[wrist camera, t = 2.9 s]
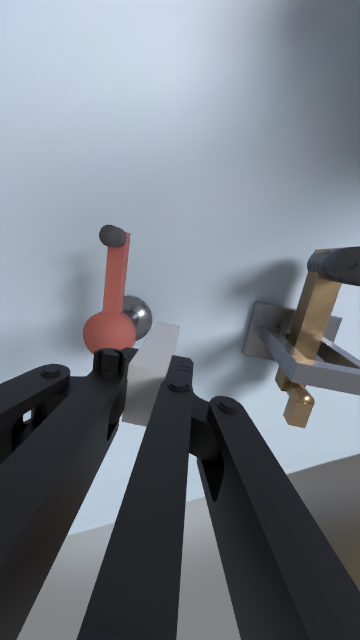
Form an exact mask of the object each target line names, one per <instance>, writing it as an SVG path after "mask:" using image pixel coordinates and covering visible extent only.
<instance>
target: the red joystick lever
mask: <svg viewBox="0 0 360 640" xmlns="http://www.w3.org/2000/svg"><path fill="white" fill-rule="evenodd" d="M99 237H100V240H101V242H102V243H103V244H104V245H106V246H108V253H107V265H106V277H105V289H104V301H103V311H101V312H99V313H97V314H95V315H93V316H92V317H91V318H89V320H88V321H87V322H86V324H85V326H84V330H83V338H84V342H85V344H86V346H87V348H88V349H89V350H90V352H91V353H92V354H94V351H96V350H98V349H102V348H115V349H119V350H121V349H124V348H126V347H130V348H132V347H133V345H134V343H135V341H136V335H137V334H136V328H135V325H134V323H133V321H132V320H131V318H130V317H129V316H128V315H126V314H125V313H123V312H122V309H123V299H124V290H125V281H126V271H127V262H128V252H129V243H130V233H127V232H124V230H122V229H120V228H118V227H115V226H112V225H105V226H103V227H102V228H101V230H100V233H99Z"/></svg>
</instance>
